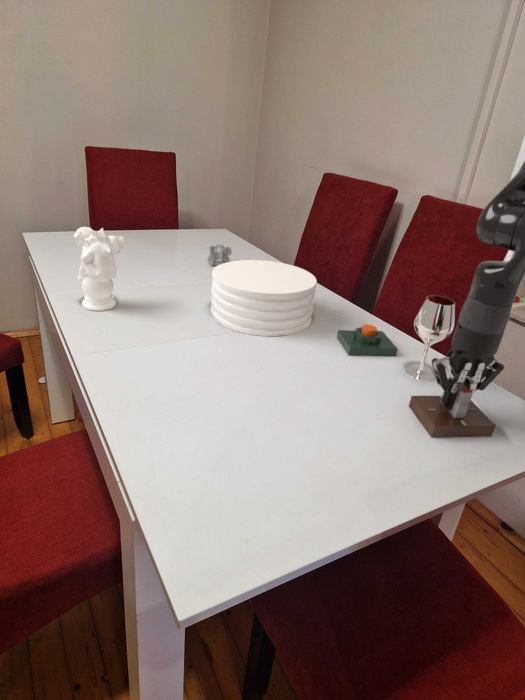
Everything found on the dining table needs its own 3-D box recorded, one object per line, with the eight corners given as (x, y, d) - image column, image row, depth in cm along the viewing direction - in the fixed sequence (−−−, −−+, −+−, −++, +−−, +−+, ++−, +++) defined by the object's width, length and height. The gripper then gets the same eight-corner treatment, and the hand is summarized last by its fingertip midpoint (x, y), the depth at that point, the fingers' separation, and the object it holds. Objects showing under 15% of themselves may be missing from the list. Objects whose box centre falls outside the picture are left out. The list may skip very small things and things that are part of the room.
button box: (380, 338, 119) (383, 324, 117) (395, 356, 110) (399, 342, 108) (336, 337, 117) (339, 323, 115) (348, 356, 108) (351, 341, 106)
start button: (372, 330, 114) (373, 324, 113) (377, 337, 110) (379, 330, 110) (358, 330, 113) (360, 324, 112) (363, 336, 110) (365, 330, 109)
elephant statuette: (225, 260, 170) (226, 240, 167) (239, 270, 161) (240, 248, 158) (202, 262, 166) (202, 241, 162) (215, 272, 157) (216, 250, 153)
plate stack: (331, 326, 123) (338, 286, 118) (242, 343, 109) (245, 299, 104) (275, 292, 144) (278, 256, 138) (194, 303, 129) (194, 264, 124)
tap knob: (440, 401, 88) (448, 376, 86) (449, 401, 89) (457, 376, 86) (454, 418, 83) (463, 392, 81) (464, 418, 84) (473, 392, 81)
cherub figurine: (75, 301, 123) (66, 219, 113) (118, 293, 131) (113, 216, 121) (93, 316, 115) (86, 230, 105) (138, 307, 123) (135, 226, 113)
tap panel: (463, 405, 92) (467, 394, 91) (491, 436, 84) (496, 424, 83) (408, 406, 91) (411, 394, 89) (431, 437, 82) (435, 425, 81)
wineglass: (420, 386, 98) (442, 309, 90) (393, 369, 104) (412, 295, 96) (445, 379, 102) (469, 305, 94) (418, 363, 108) (438, 291, 100)
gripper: (504, 315, 82) (475, 395, 90) (434, 313, 80) (410, 396, 88) (531, 333, 75) (498, 418, 83) (456, 332, 73) (428, 419, 81)
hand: (453, 406), depth 86 cm, fingers closed on tap knob, 2 cm apart
